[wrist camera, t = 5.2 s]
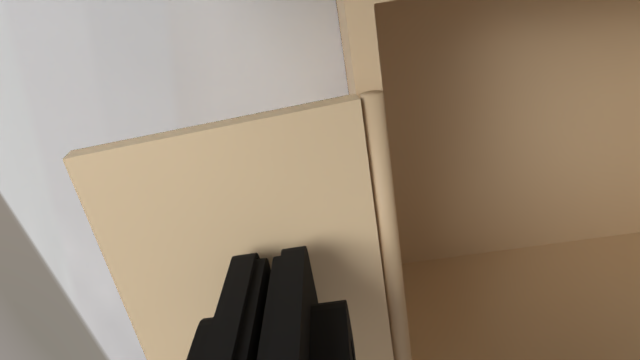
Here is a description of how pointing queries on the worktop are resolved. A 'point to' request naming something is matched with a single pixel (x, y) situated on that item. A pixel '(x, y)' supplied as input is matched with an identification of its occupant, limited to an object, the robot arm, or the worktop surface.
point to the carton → (510, 170)
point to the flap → (251, 217)
